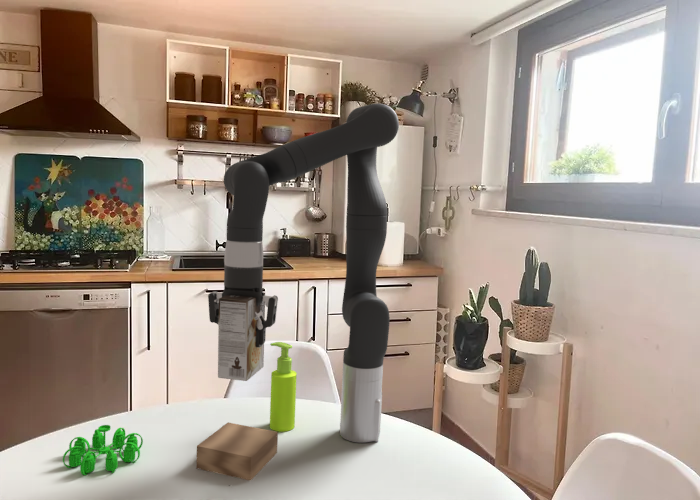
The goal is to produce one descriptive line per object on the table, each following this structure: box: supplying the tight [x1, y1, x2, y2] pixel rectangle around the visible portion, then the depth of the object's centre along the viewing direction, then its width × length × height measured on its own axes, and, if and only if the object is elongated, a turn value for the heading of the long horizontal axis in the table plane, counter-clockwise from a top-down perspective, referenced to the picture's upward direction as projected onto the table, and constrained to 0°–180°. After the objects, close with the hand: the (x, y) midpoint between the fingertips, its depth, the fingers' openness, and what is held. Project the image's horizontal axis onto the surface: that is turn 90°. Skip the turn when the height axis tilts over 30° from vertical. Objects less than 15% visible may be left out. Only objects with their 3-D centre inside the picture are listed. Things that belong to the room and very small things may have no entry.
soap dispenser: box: [269, 341, 297, 433], centre depth 126 cm, size 6×7×20 cm
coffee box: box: [217, 292, 266, 382], centre depth 108 cm, size 9×6×16 cm
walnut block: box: [195, 422, 279, 481], centre depth 110 cm, size 12×12×5 cm
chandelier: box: [62, 424, 144, 476], centre depth 108 cm, size 15×15×7 cm
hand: (241, 344), depth 108 cm, fingers closed on coffee box, 6 cm apart
